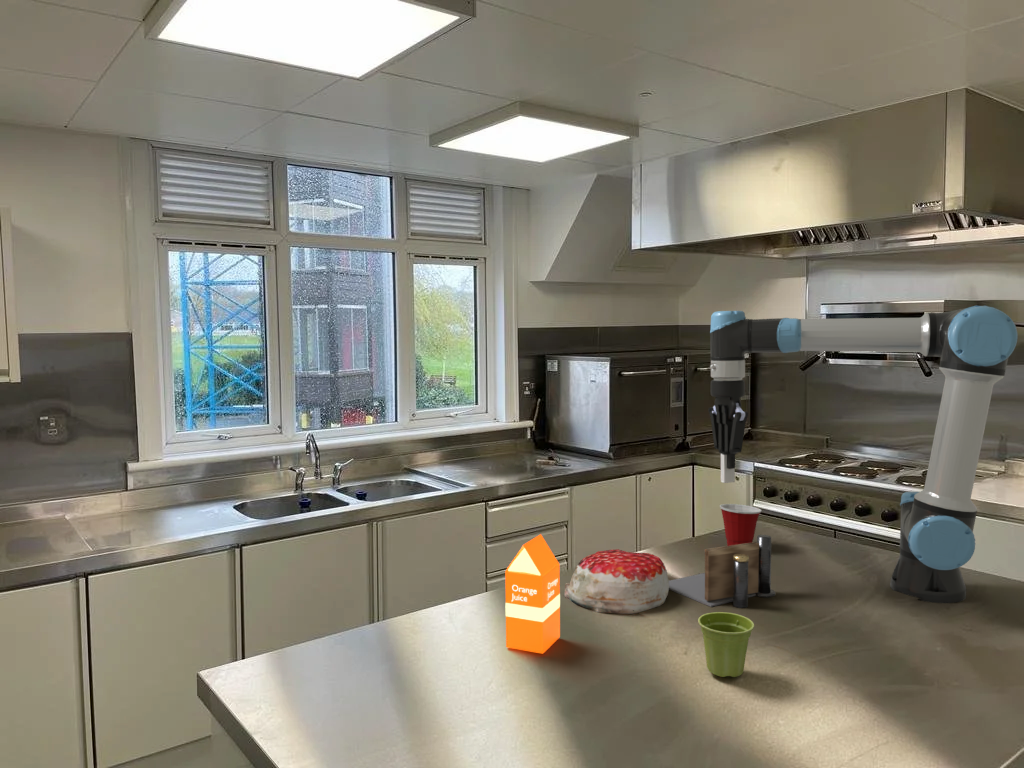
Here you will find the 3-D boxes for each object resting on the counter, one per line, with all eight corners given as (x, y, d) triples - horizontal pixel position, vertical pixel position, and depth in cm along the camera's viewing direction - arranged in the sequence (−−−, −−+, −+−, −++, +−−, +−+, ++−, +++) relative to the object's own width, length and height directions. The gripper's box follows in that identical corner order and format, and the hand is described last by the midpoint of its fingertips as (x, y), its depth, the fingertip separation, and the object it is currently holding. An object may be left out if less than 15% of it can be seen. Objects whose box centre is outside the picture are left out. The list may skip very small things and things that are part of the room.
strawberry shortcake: (663, 578, 185) (663, 537, 185) (673, 615, 161) (674, 568, 160) (566, 576, 188) (566, 535, 187) (563, 612, 163) (562, 566, 163)
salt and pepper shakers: (786, 597, 171) (787, 539, 170) (740, 609, 164) (741, 548, 163) (762, 588, 177) (763, 532, 176) (717, 599, 170) (717, 541, 169)
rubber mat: (766, 592, 174) (766, 591, 174) (710, 606, 165) (710, 605, 165) (711, 572, 188) (711, 571, 188) (658, 584, 180) (658, 583, 180)
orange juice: (560, 636, 150) (560, 535, 149) (543, 654, 142) (542, 547, 141) (524, 630, 154) (523, 531, 152) (504, 647, 146) (503, 542, 144)
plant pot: (763, 669, 135) (764, 621, 134) (736, 688, 128) (737, 636, 127) (715, 654, 141) (715, 608, 141) (687, 671, 135) (687, 622, 134)
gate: (754, 590, 173) (754, 542, 172) (758, 592, 172) (759, 543, 171) (704, 599, 168) (704, 549, 167) (708, 601, 167) (708, 550, 166)
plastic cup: (770, 553, 204) (770, 508, 203) (736, 558, 200) (737, 512, 199) (743, 543, 214) (743, 500, 213) (710, 547, 210) (711, 504, 209)
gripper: (698, 378, 181) (698, 478, 182) (728, 381, 168) (728, 488, 170) (726, 377, 183) (726, 476, 184) (758, 380, 170) (758, 486, 172)
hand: (727, 481), depth 177 cm, fingers closed
